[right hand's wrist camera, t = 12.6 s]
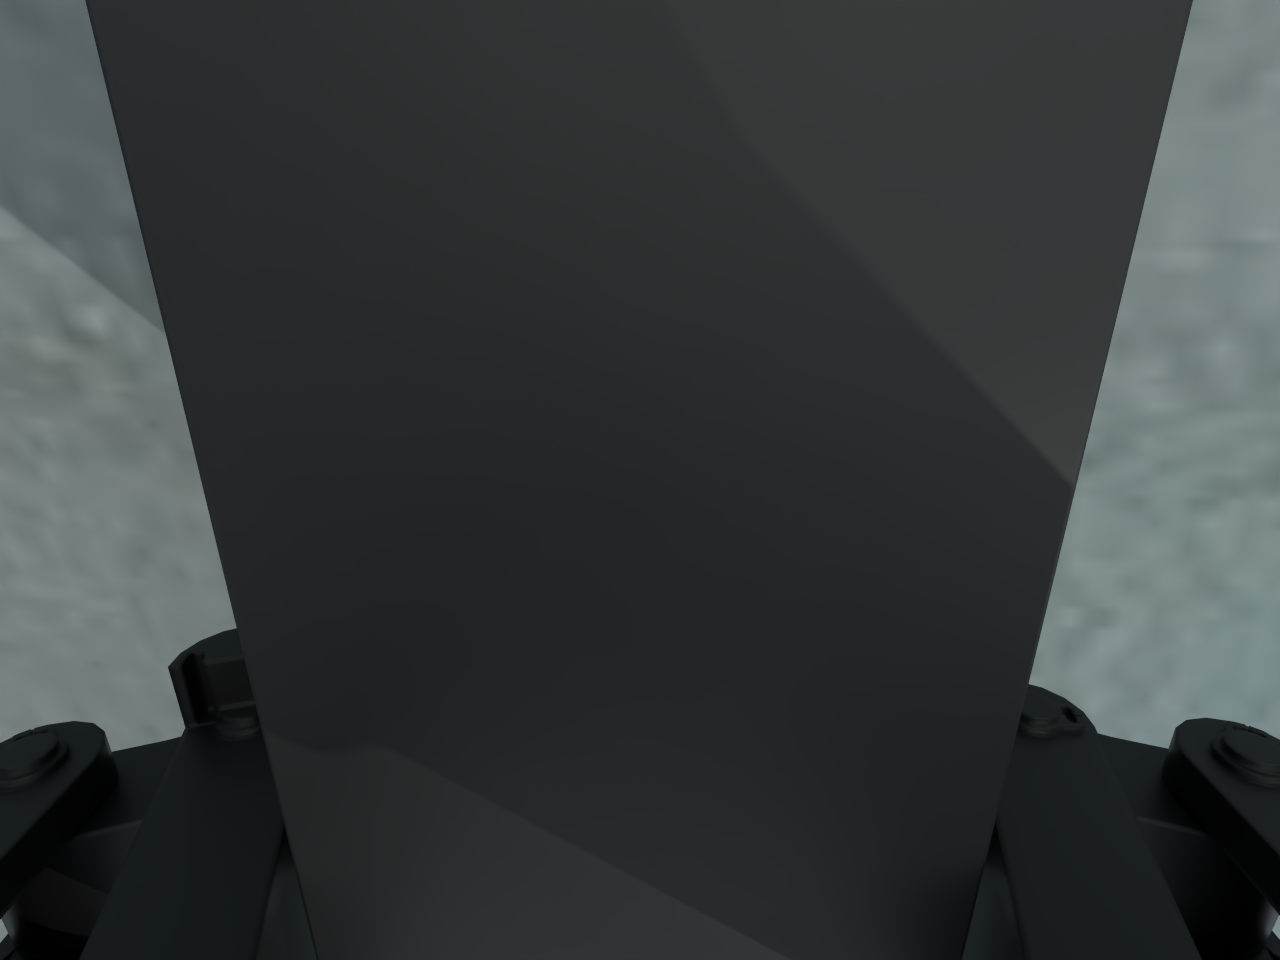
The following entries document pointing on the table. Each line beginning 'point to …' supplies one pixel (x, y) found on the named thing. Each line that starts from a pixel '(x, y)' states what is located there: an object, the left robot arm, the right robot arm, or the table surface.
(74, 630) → the table surface
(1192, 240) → the table surface
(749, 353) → the box
